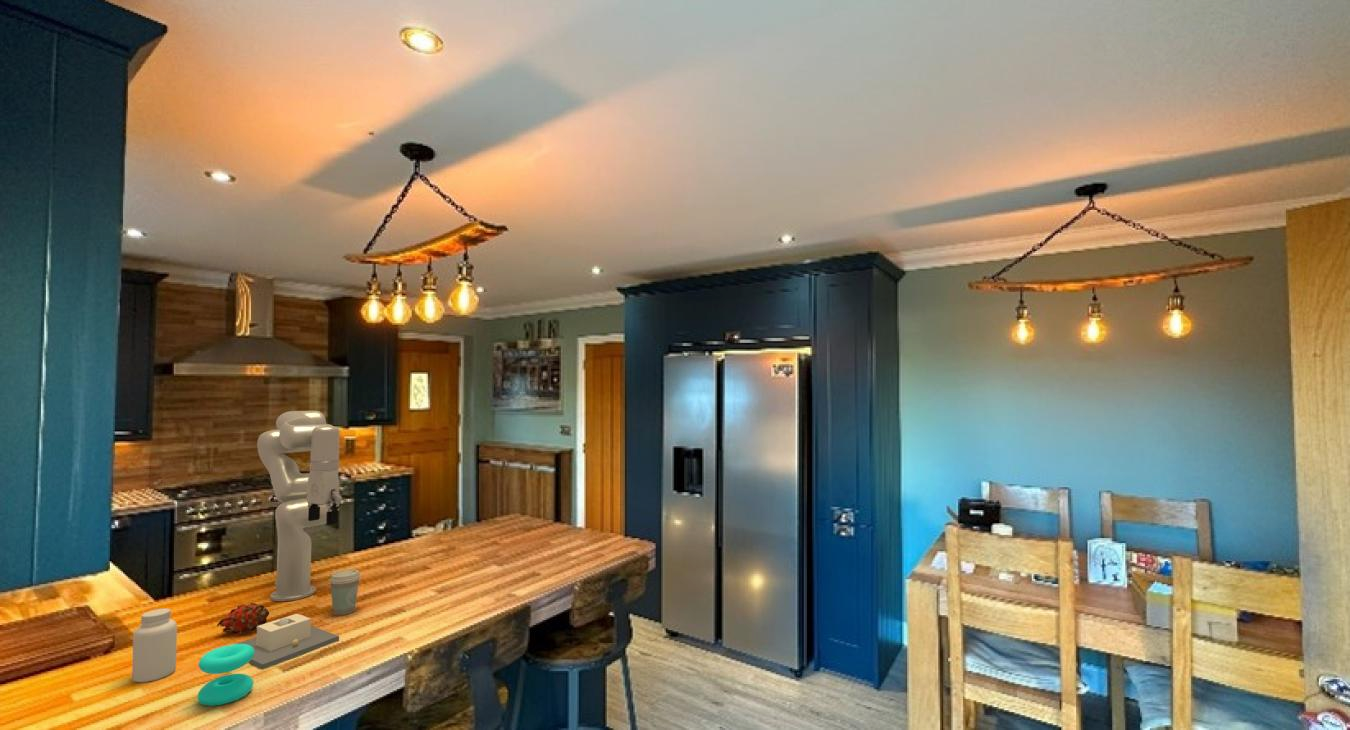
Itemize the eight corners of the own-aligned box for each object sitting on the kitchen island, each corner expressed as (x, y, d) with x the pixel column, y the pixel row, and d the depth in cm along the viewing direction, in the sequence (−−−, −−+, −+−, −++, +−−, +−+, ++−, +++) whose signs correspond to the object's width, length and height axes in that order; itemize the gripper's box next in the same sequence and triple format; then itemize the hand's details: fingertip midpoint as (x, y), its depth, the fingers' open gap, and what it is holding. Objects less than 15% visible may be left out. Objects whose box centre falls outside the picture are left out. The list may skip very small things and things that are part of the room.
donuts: (259, 638, 138) (247, 656, 128) (258, 681, 137) (246, 702, 128) (207, 646, 134) (191, 665, 125) (206, 690, 133) (190, 712, 124)
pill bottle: (149, 667, 144) (152, 606, 144) (184, 666, 144) (186, 605, 145) (122, 684, 136) (124, 619, 136) (158, 682, 136) (161, 618, 137)
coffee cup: (345, 618, 174) (346, 578, 175) (321, 616, 176) (322, 576, 177) (366, 608, 183) (367, 569, 183) (342, 605, 185) (343, 567, 185)
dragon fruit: (272, 633, 167) (220, 649, 161) (271, 608, 173) (221, 623, 167) (268, 616, 163) (214, 631, 157) (267, 591, 169) (215, 605, 162)
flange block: (270, 651, 150) (270, 631, 150) (256, 645, 154) (256, 626, 154) (310, 637, 159) (310, 618, 159) (296, 631, 162) (296, 613, 162)
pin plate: (225, 651, 152) (225, 624, 153) (300, 626, 169) (301, 601, 169) (262, 669, 143) (263, 640, 143) (339, 640, 160) (339, 614, 160)
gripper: (296, 465, 180) (294, 521, 179) (328, 470, 171) (326, 528, 171) (321, 463, 186) (319, 516, 186) (353, 467, 178) (351, 523, 177)
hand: (322, 522), depth 178 cm, fingers open, 9 cm apart
